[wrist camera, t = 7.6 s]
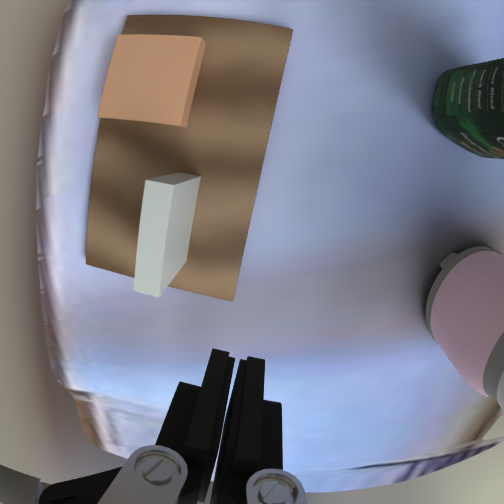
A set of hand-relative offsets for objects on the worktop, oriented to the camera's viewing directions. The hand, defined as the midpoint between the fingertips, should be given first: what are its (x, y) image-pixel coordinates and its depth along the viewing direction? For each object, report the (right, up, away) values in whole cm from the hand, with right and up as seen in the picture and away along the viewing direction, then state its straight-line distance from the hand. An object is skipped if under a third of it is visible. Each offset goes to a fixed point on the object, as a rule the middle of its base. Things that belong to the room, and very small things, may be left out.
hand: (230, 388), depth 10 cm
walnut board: (-6, +14, +18) cm, 23 cm away
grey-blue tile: (-6, +7, +19) cm, 21 cm away
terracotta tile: (-4, +19, +14) cm, 24 cm away
